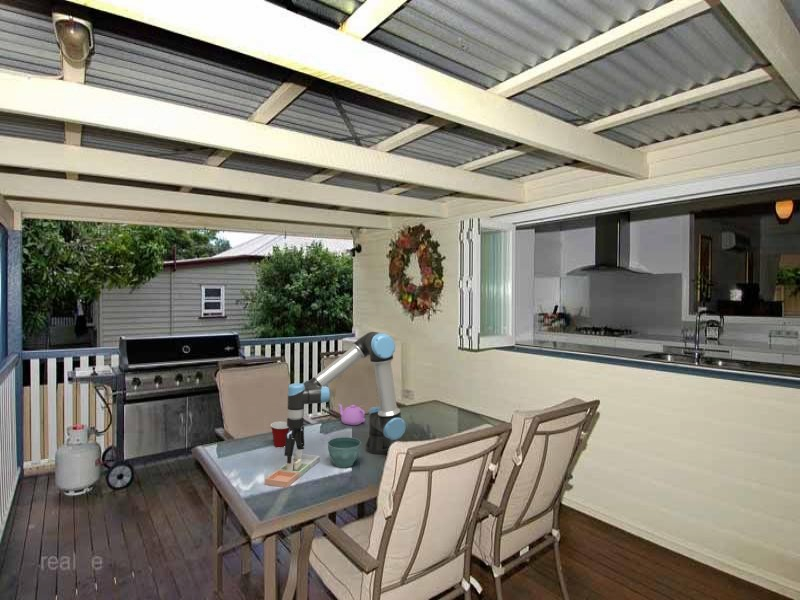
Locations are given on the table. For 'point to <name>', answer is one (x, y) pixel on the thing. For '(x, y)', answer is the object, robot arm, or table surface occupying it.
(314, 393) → the robot arm
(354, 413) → the teapot
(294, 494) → the table surface
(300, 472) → the box sage
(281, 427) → the plastic cup
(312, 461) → the box grey
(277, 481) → the box terracotta
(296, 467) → the letter cube
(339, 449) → the flower pot
